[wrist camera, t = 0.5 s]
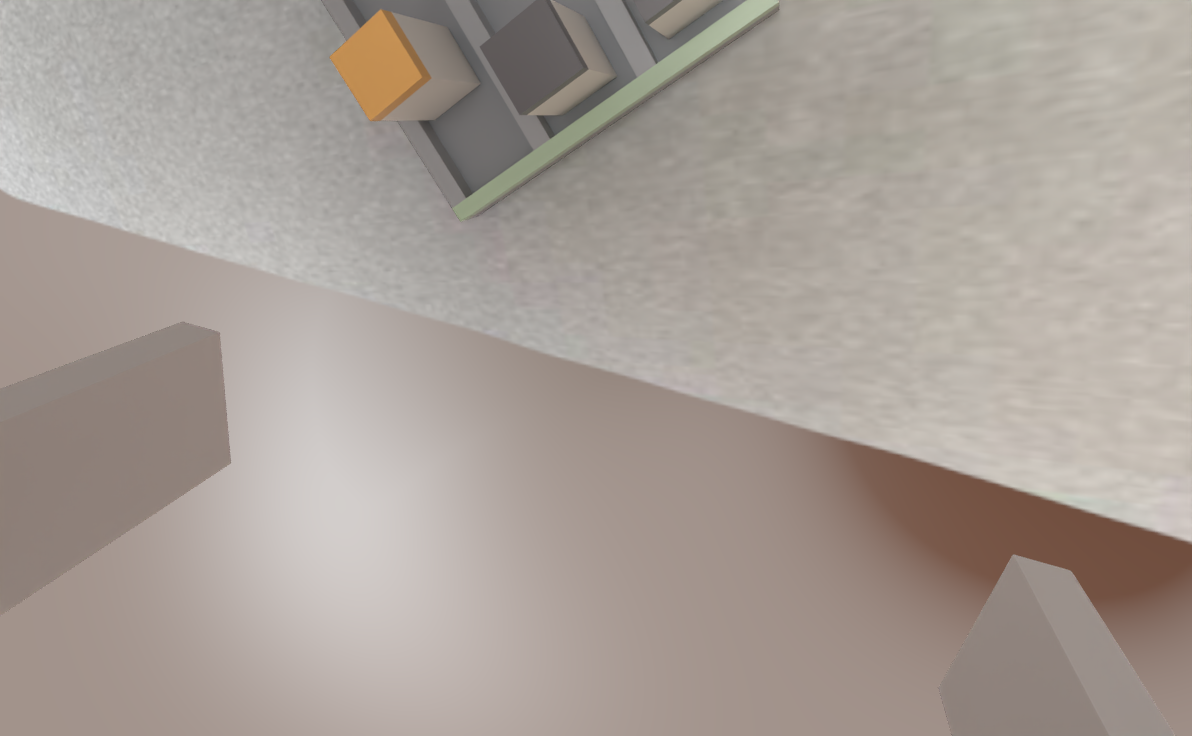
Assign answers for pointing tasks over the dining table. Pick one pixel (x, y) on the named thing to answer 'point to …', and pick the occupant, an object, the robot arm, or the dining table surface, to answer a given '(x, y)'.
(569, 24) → the toggle mid
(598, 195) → the dining table surface
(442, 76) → the toggle far
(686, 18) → the toggle near
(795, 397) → the dining table surface
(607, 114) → the breaker board
